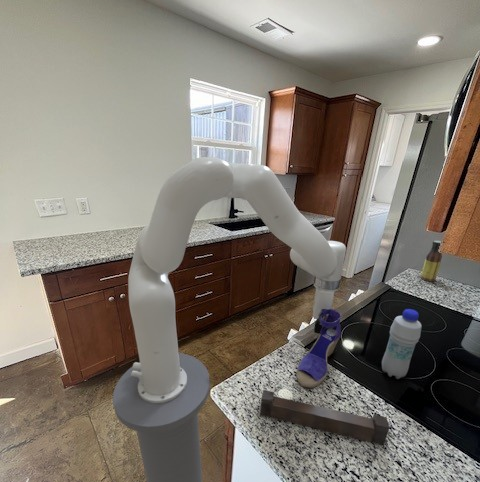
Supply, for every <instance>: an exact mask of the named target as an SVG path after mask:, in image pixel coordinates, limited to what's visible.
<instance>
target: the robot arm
mask: <svg viewBox="0 0 480 482" xmlns="http://www.w3.org/2000/svg"><path fill="white" fill-rule="evenodd" d="M287 192H288V191H286V189H285V188H284V186H283V184H282V183H281V181H280V180H279V178H278V177H277V175H276V173H274V171H273V170H272V169H271V168H270V167H269V166H267V165H264V164H257V163H256V164H255V163H237V162H229V161H226V160H224V158H223V159H222V158H220V157H216V156H204V157H203V156H202V157H201V156H200V157H195V158H193V159H191V160H190V161H189V162H188V163H186V164H184V165H183V166H181V167H179V168H177V169H176V170H175V171H174V172H173V173H172V174H170V176H168V178H167V179H166V180H165V181H164V183H163V184H162V186H161V189H160V190H159V192H158V195H157V198H156V200H155V203H154V207H153V211H152V213H151V217H150V221H149V223H147V224H146V225H145V226H144V227H142V229H141V230H140V232H139V234H138V237H137V240H136V243H135V247H134V251H133V255H132V259H131V264H130V268H129V272H128V278H127V286H128V288H127V291H128V305H129V312H130V316H131V320H132V321H131V322H132V326H133V331H134V336H135V343H136V348H137V353H138V359H139V362H140V363H139V362H137V361H135V362H133V364H132V366H133V367H132V366H131V367H132V368H133V369H134V370H139V371H141V372H138V371H132V373H131V376H135V377H138V378H139V383H138V392H139V395H140V397H141V398H142V399H143V400H145V401H147V402H150V403H164V402H168V401H170V400H172V399H174V398H176V397H177V396H179V395H180V394H181V393H182V392H183V390H184V389H185V387H186V385H187V375H186V373H185V371H184V370H183V369H182V368H181V367H180V362H179V353H180V352H179V343H178V333H177V332H178V331H177V320H176V297H175V293H174V289H173V286H172V284H171V282H170V280H169V274H170V273H172V272H174V271H176V269H178V268H179V266H180V265H181V264H182V262H183V260H184V256H185V253H186V248H187V246H188V242H189V238H190V235H191V232H192V228H193V225H194V223H195V220H196V217H197V215H198V214H199V212H200V210H201V209H202V208H203V207H204V206H205V205H207V204H208V203H210V202H212V201H217V200H220V199H222V198H229V199H241V200H244V201H247V203H248V204H249V205H250V206H251V208H252V209H253V211H254V212H255V213H256V214H257V216H258V217H259V218H260V220H261V221H262V223H264V225H265V226H266V227H267V229H268V230H269V231H270V233H271V234H273V235H274V236H275V237H276V238H277V239H278V240H280V242H283V243H284V244H286V245H287V246H288V247H290V248H291V249H290V251H289V258H290V260H291V263H293V264H294V265H295V266H297V267H299V269H301V270H304V271H305V272H307V273H308V274H310V275H312V276H313V277H314V279H313V286H314V288H315V292H314V293H315V294H314V300H313V305H312V318H313V319H314V320H315V322H314V327H313V332H314V333H315V334H319V335H320V332H321V329H322V326H323V325H321V323H320V322H319V319H318V318H319V316H318V314H319V313H320V312H321V310H324V309H327V310H328V309H333V305H334V298H335V292H336V291H339V290H340V286H341V280H342V274H343V268H344V264H345V258H346V253H347V247H346V245H345V244H344V243H343V242H340V241H338V240H337V241H336V240H327V239H326V237H325V236H324V235H323V234H322V233H321V232H320V230H318V228H316V227H315V226H314V225H313V224H312V223H311V222H310V221H309V220H308V219H307V218H306V216H304V214H302V213H301V212H300V211H299V209H298V207H296V205H295V203H294V201H293V200H292V199H291V196H290V195H289V194H288V193H287ZM328 315H329V314H327V315H326V316H324V317H323V319H322V320H324V321H326V319H327V317H328ZM321 318H322V317H321Z"/></svg>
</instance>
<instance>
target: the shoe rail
mask: <svg viewBox="0 0 480 482" xmlns="http://www.w3.org/2000/svg"><path fill="white" fill-rule="evenodd" d="M260 416H263V417H267V418H272V419H275V420H280V421H284V422H288V423H291V424H295V425H296V424H297V425H300V426H304V427H308V428H312V429H317V430H320V431H325V432H328V433H333V434H337V435H341V436H344V437H348V438H353V439H356V440H361V441H365V442H369V443H374V444H377V445H380V446H384V445H385V442H386V440H387V436H388V433H389V431H390V425H389V421H388V417H386V416H383V415H379V414H373V415H372V417H368V416H362V415H359V414H355V413H349V412H345V411H341V410H336V409H332V408H327V407H324V406H318V405H314V404H310V403H306V402H301V401H297V400H292V399H288V398H283V397H279V396H275V392H274V391H270V390H266V389H263V390H262V393H261V398H260Z"/></svg>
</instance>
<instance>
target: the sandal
mask: <svg viewBox="0 0 480 482" xmlns="http://www.w3.org/2000/svg"><path fill="white" fill-rule="evenodd" d="M327 314H329V315H328V317H327V319H326V321H324V320H322V319H323V317H324V316H326V315H327ZM318 316H319V318H318V319H319V322H320V323H321V325H323V326H322V329H321V332H320V334H319V335H318V337H317V339H316V340H315V342H314V343H313V344H312V346H311V348H310V349H309V351H308V352H307V353H306V354H305V355H304V356H303V357H302V359H301V360H300V361H299V363H298V367H297V370H296V378H297V382H298V384H299V385H300V386H302V387H303V388H306V389H312V388H316V387H317V386H319V385H320V384H322V383H323V382H324V381H325V379H326V378H327V374H328V368H329V367H328V358H329V357H330V356H332V355H333V353H334V350H335V348H336V346H337V344H338V342H339V340H340V337H341V336H342V330H341V329H342V328H341V324H340V323H341V318H342V314H341V313H340V311H338V310H336V309H333V308H332V309H328V310H327V309H324V310H321V312H320V313H319V314H318ZM321 317H322V318H321Z"/></svg>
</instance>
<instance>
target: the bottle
mask: <svg viewBox="0 0 480 482" xmlns="http://www.w3.org/2000/svg"><path fill="white" fill-rule="evenodd" d="M419 316H420V315H419V312H418V311H416V310H415V309H411V308H406V309H404V310H403V312H402V315H398V316H396V317H395V318H394V320H393V322H392V324H391V326H390V330H389V338H388V342H387V345H386V348H385V352H384V353H383V356H382V359H381V370H382V372H383V373H385V374H386V373H387V376H388V377H389V378H392V376H394V378H395V379H397V380H399V379H401V378H404V377H406V376H407V374H408V371H409V368H410V363H411V359H412V356H413V353H414V350H415V348H416V344H418V342H419V340H420V338H421V333H422V326H423V325H422V323H421V322H420V321H419Z"/></svg>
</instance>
